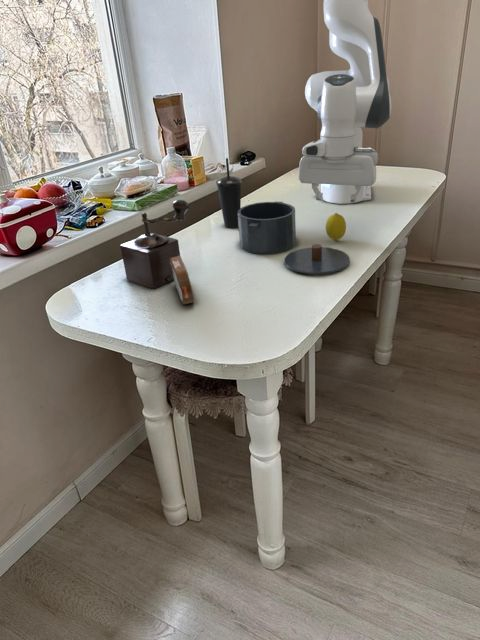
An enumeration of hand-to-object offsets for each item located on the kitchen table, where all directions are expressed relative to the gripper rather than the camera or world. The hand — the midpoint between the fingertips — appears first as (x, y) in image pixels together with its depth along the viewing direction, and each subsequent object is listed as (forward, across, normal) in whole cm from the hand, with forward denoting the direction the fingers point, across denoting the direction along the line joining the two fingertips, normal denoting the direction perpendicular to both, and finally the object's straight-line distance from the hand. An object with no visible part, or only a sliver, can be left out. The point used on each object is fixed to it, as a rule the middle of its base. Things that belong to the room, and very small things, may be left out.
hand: (336, 200), depth 143 cm
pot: (+11, +18, +6) cm, 22 cm away
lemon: (+12, 0, 0) cm, 12 cm away
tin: (+12, +26, +42) cm, 51 cm away
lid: (+11, +1, +16) cm, 19 cm away
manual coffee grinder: (+12, +37, +32) cm, 50 cm away
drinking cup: (+12, +34, -6) cm, 37 cm away
